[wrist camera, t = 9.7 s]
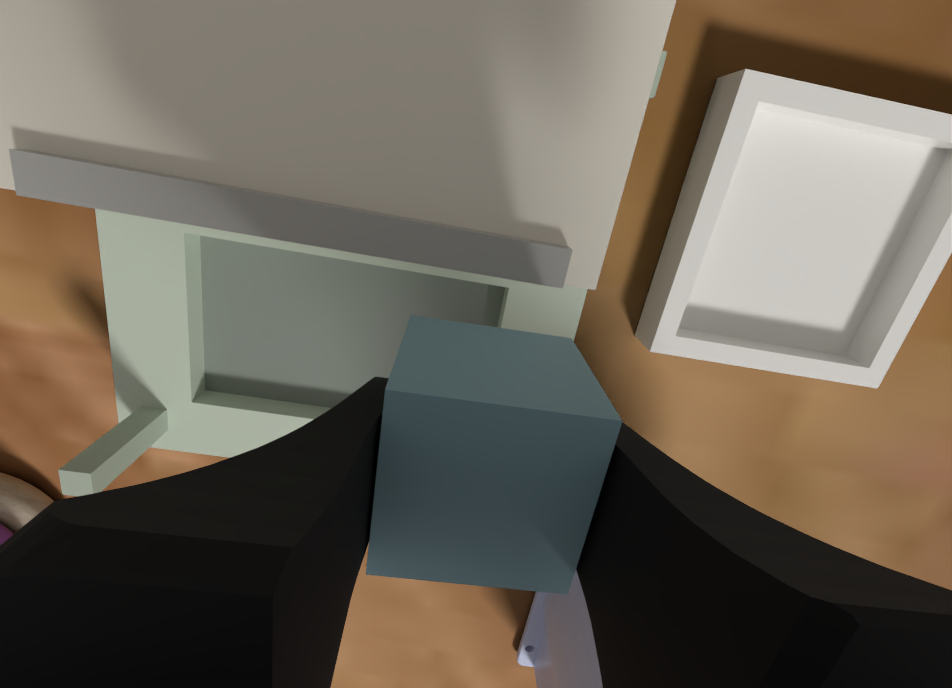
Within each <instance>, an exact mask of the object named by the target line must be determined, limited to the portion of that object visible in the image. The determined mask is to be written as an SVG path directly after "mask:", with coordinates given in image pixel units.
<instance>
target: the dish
mask: <svg viewBox="0 0 952 688" xmlns="http://www.w3.org/2000/svg"><path fill="white" fill-rule="evenodd" d="M951 253H952V115H951V114H947V113H942V112H938V111H933V110H929V109H924V108H920V107H915V106H911V105H906V104H902V103H897V102H893V101H888V100H884V99H879V98H875V97H871V96H866V95H862V94H857V93H853V92H848V91H844V90H839V89H835V88H830V87H826V86H821V85H817V84H812V83H808V82H803V81H799V80H794V79H790V78H785V77H781V76H776V75H772V74H767V73H763V72H758V71H754V70H749V69H743V70H740V71H737V72H734V73H731V74H728V75H725V76H721V77H718V78H717V80H716V84H715V87H714V90H713V93H712V96H711V99H710V102H709V105H708V108H707V112H706V115H705V118H704V121H703V124H702V127H701V130H700V133H699V136H698V140H697V143H696V146H695V149H694V152H693V155H692V158H691V161H690V164H689V168H688V171H687V174H686V177H685V180H684V183H683V186H682V189H681V192H680V196H679V199H678V202H677V205H676V208H675V211H674V214H673V217H672V220H671V224H670V227H669V230H668V233H667V236H666V239H665V242H664V245H663V248H662V252H661V255H660V258H659V261H658V264H657V267H656V270H655V273H654V276H653V280H652V283H651V286H650V289H649V292H648V295H647V298H646V301H645V304H644V308H643V311H642V314H641V317H640V320H639V323H638V326H637V329H636V332H635V337H636V338H637V339H638V340H639V341H640V342H641V343H642V344H643V345H644V346H645V347H646V348H647V349H648V350H649V351H650V352H656V353H662V354H668V355H674V356H680V357H687V358H693V359H699V360H705V361H711V362H718V363H724V364H730V365H736V366H742V367H748V368H755V369H761V370H767V371H773V372H779V373H786V374H792V375H798V376H804V377H810V378H817V379H823V380H829V381H835V382H841V383H848V384H854V385H860V386H866V387H872V388H878V387H879V385H880V383H881V381H882V379H883V378H884V376H885V374H886V372H887V370H888V368H889V367H890V365H891V363H892V361H893V359H894V357H895V356H896V354H897V352H898V350H899V348H900V346H901V345H902V343H903V341H904V339H905V337H906V335H907V334H908V332H909V330H910V328H911V326H912V324H913V323H914V321H915V319H916V317H917V315H918V313H919V312H920V310H921V308H922V306H923V304H924V302H925V301H926V299H927V297H928V295H929V293H930V291H931V289H932V288H933V286H934V284H935V282H936V280H937V278H938V277H939V275H940V273H941V271H942V269H943V267H944V266H945V264H946V262H947V260H948V258H949V256H950V255H951Z"/></svg>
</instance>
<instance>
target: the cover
mask: <svg viewBox="0 0 952 688" xmlns="http://www.w3.org/2000/svg"><path fill="white" fill-rule="evenodd" d="M675 3H676V0H0V188H4V189H10V190H16V195H18V196H24V197H30V198H36V199H42V200H48V201H53V202H59V203H65V204H71V205H77V206H83V207H88V208H94V209H100V210H106V211H112V212H118V213H123V214H129V215H135V216H141V217H147V218H153V219H159V220H164V221H170V222H176V223H182V224H188V225H194V226H199V227H205V228H211V229H217V230H223V231H229V232H234V233H240V234H246V235H252V236H258V237H264V238H270V239H275V240H281V241H287V242H293V243H299V244H305V245H310V246H316V247H322V248H328V249H334V250H340V251H345V252H351V253H357V254H363V255H369V256H375V257H381V258H386V259H392V260H398V261H404V262H410V263H416V264H421V265H427V266H433V267H439V268H445V269H451V270H456V271H462V272H468V273H474V274H480V275H486V276H492V277H497V278H503V279H509V280H515V281H521V282H527V283H532V284H538V285H544V286H550V287H556V288H562V289H563V286H564V285H568V286H574V287H580V288H586V289H592V290H596V286H597V283H598V279H599V275H600V272H601V268H602V265H603V261H604V257H605V254H606V250H607V247H608V243H609V240H610V236H611V232H612V229H613V225H614V222H615V218H616V214H617V211H618V207H619V204H620V200H621V196H622V193H623V189H624V186H625V182H626V179H627V175H628V171H629V168H630V164H631V161H632V157H633V153H634V150H635V146H636V143H637V139H638V136H639V132H640V128H641V125H642V121H643V118H644V114H645V110H646V107H647V103H648V100H649V96H650V93H651V89H652V85H653V82H654V78H655V75H656V71H657V67H658V64H659V60H660V57H661V53H662V49H663V46H664V42H665V39H666V35H667V32H668V28H669V24H670V21H671V17H672V14H673V10H674V6H675Z"/></svg>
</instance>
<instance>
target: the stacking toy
mask: <svg viewBox="0 0 952 688" xmlns="http://www.w3.org/2000/svg"><path fill="white" fill-rule="evenodd" d="M53 502H54V501H53V500H52V499H51V498H50V497H49V496H47V495H46V494H45V493H43V492H42V491H41V490H39V489H37V488H36V487H34V486H32V485H31V484H29V483H27V482H25V481H23V480H21V479H18V478H16V477H13V476H10V475H7V474H4V473H1V472H0V545H1V544H2V543H4V542H5V541H6V540H7V539H8V538H10V537H11V536H12V535H13V534H14V533H16V532H17V531H18V530H19V529H21V528H22V527H23V526H24V525H25V524H27V523H28V522H29V521H30V520H31V519H33V518H34V517H35V516H36V515H37V514H39V513H40V512H41V511H42V510H44V509H45V508H46V507H47V506H49V505H50V504H51V503H53Z"/></svg>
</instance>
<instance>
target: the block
mask: <svg viewBox="0 0 952 688" xmlns="http://www.w3.org/2000/svg"><path fill="white" fill-rule="evenodd" d="M621 424H622V419H621V418H620V416H619V414H618V413H617V411H616V410H615V408H614V406H613V405H612V403H611V402H610V400H609V398H608V397H607V395H606V393H605V392H604V390H603V389H602V387H601V385H600V384H599V382H598V380H597V379H596V377H595V376H594V374H593V372H592V371H591V369H590V368H589V366H588V364H587V363H586V361H585V359H584V358H583V356H582V355H581V353H580V351H579V350H578V348H577V346H576V345H575V343H574V342H573V340H572V338H566V337H560V336H553V335H546V334H539V333H532V332H525V331H519V330H512V329H505V328H498V327H491V326H484V325H478V324H471V323H464V322H457V321H450V320H443V319H437V318H430V317H423V316H416V315H411V316H410V318H409V321H408V324H407V327H406V330H405V333H404V336H403V339H402V342H401V345H400V348H399V350H398V353H397V356H396V359H395V362H394V365H393V368H392V371H391V374H390V377H389V380H388V382H387V385H386V388H385V395H384V405H383V414H382V424H381V434H380V443H379V453H378V462H377V472H376V481H375V491H374V501H373V510H372V520H371V529H370V539H369V548H368V558H367V568H366V574H367V575H377V576H387V577H397V578H407V579H417V580H427V581H437V582H447V583H457V584H467V585H477V586H487V587H497V588H507V589H517V590H527V591H536V592H546V593H556V594H566V595H568V593H569V590H570V587H571V583H572V580H573V577H574V574H575V571H576V568H577V564H578V561H579V558H580V555H581V552H582V548H583V545H584V542H585V539H586V536H587V533H588V529H589V526H590V523H591V520H592V517H593V513H594V510H595V507H596V504H597V501H598V498H599V494H600V491H601V488H602V485H603V482H604V478H605V475H606V472H607V469H608V466H609V462H610V459H611V456H612V453H613V450H614V447H615V443H616V440H617V437H618V434H619V431H620V427H621Z"/></svg>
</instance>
